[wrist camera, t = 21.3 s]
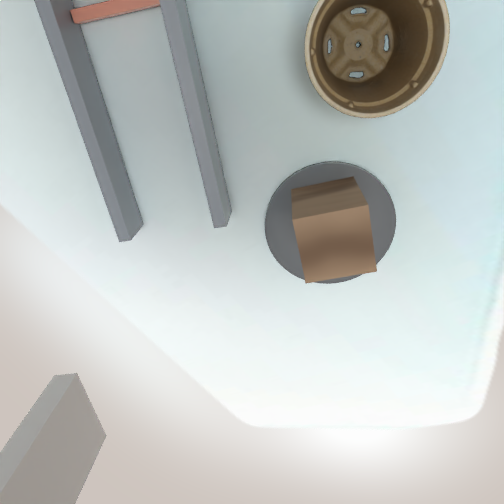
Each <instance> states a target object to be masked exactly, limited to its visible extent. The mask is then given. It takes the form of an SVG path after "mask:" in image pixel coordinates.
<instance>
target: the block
mask: <svg viewBox="0 0 504 504" xmlns="http://www.w3.org/2000/svg"><path fill="white" fill-rule="evenodd" d="M291 200H292V221H293V226H294V230H295V235H296V240H297V244H298V249H299V254H300V259H301V263H302V268H303V273H304V277H305V282H306V283H311V282H317V281H323V280H329V279H335V278H341V277H347V276H352V275H358V274H364V273H370V272H376V271H377V268H376V261H375V253H374V245H373V237H372V229H371V221H370V214H369V206H368V203H367V201H366V199H365V197H364V196H363V194H362V192H361V190H360V188H359V186H358V184H357V182H356V180H355V178H354V176H353V177H348V178H343V179H338V180H333V181H328V182H324V183H319V184H314V185H309V186H304V187H300V188H295V189H291Z"/></svg>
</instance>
